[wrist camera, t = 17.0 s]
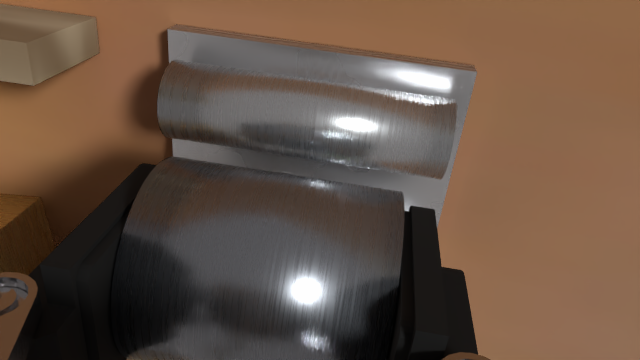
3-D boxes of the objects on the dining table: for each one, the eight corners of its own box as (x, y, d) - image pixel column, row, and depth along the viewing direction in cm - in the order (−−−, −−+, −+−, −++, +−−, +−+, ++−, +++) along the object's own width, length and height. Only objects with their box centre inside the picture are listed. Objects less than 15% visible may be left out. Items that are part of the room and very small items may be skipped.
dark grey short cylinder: (372, 450, 9) (368, 351, 13) (412, 202, 9) (394, 184, 13) (97, 398, 9) (181, 319, 14) (127, 157, 9) (203, 155, 13)
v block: (474, 65, 13) (489, 98, 11) (419, 280, 17) (422, 339, 15) (176, 24, 14) (132, 48, 12) (183, 240, 17) (151, 291, 15)
